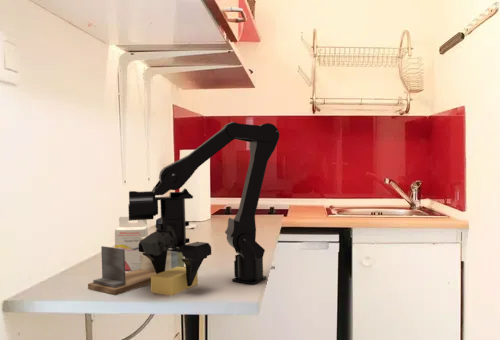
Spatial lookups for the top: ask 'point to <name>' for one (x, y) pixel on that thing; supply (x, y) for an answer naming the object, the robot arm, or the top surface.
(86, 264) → the top surface
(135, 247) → the ink cartridge box
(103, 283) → the brown book holder
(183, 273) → the ochre book
